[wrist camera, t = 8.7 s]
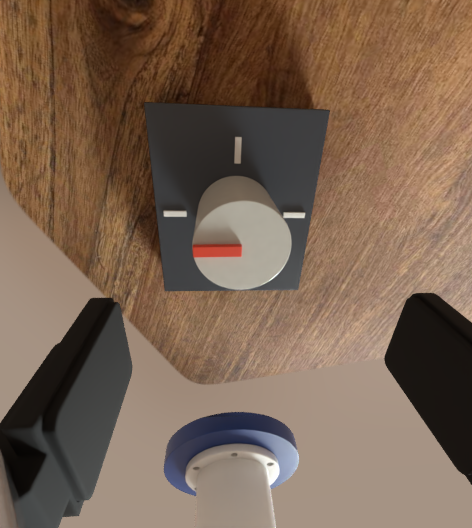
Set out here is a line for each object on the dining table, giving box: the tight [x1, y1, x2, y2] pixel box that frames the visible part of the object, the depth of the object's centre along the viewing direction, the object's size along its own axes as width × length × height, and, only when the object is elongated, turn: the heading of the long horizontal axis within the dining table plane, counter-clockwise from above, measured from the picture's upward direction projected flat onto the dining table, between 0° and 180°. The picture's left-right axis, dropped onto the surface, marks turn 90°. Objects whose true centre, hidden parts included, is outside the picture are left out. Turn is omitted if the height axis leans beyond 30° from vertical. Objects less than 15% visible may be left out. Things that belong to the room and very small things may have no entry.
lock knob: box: [192, 176, 291, 290], centre depth 15 cm, size 5×5×5 cm
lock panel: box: [144, 102, 330, 291], centre depth 19 cm, size 12×10×3 cm
